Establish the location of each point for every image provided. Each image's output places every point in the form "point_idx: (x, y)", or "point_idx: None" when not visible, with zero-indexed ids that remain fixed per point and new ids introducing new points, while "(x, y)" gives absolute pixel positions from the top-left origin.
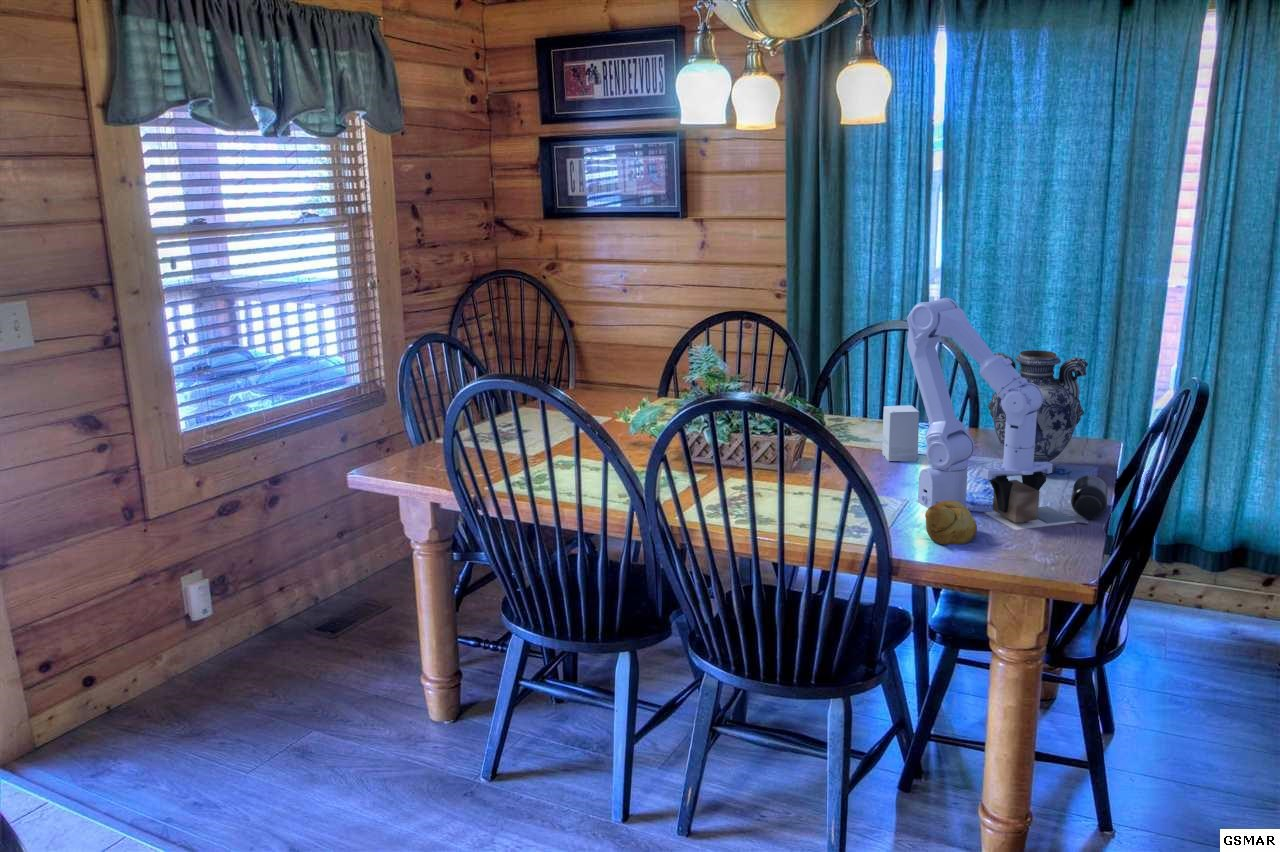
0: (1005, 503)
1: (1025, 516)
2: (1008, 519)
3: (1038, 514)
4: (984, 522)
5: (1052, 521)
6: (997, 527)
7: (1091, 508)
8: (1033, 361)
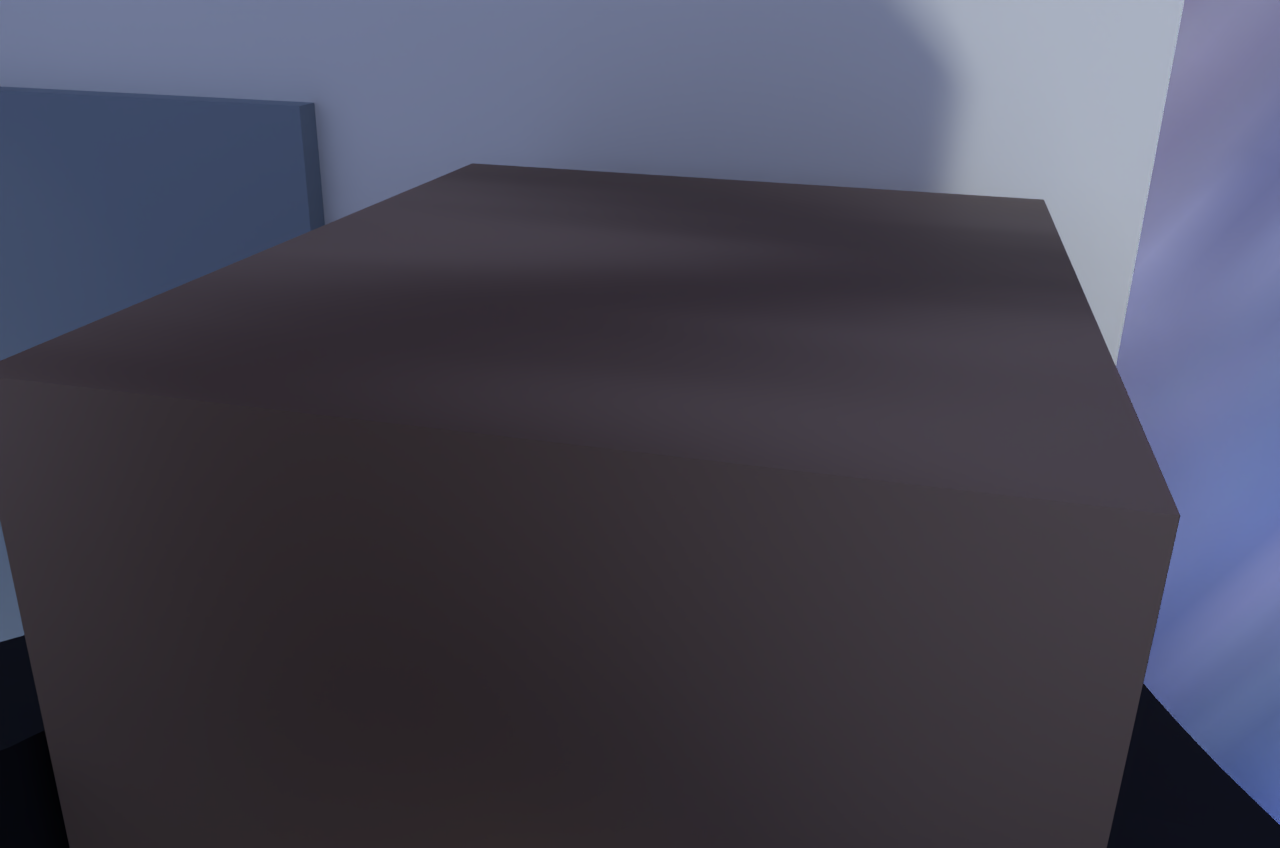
0: (1146, 700)
1: (757, 202)
2: None
3: None
4: (1261, 719)
5: (191, 106)
6: (1250, 418)
7: None
8: None
